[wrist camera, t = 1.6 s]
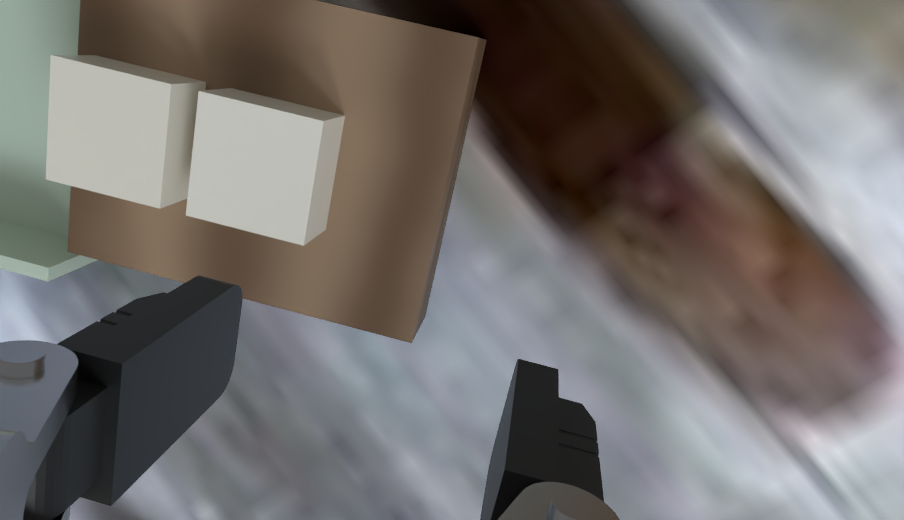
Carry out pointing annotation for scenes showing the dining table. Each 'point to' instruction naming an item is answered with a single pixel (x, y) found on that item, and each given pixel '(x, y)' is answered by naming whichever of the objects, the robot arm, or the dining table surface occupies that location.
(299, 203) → the tile
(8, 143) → the tray
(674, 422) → the dining table surface
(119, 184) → the tile
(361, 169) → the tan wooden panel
